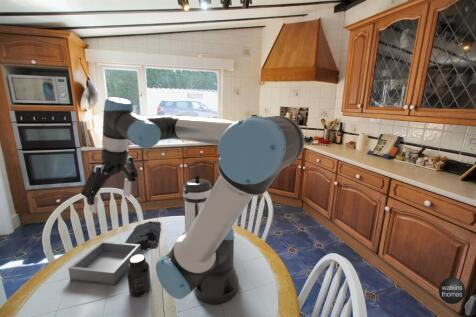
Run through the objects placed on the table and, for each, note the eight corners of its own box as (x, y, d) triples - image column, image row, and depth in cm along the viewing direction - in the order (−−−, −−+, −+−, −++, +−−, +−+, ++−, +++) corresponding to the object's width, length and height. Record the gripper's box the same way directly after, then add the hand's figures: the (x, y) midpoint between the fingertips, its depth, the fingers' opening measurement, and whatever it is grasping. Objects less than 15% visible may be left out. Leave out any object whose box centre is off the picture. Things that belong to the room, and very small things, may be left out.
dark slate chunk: (166, 225, 122) (165, 216, 121) (156, 250, 101) (155, 240, 100) (135, 226, 121) (134, 218, 120) (119, 252, 99) (118, 242, 98)
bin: (141, 255, 97) (140, 244, 96) (115, 285, 80) (113, 273, 79) (103, 251, 99) (102, 241, 98) (70, 280, 83) (68, 268, 81)
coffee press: (214, 244, 105) (214, 180, 98) (179, 244, 105) (176, 180, 99) (218, 225, 122) (218, 169, 115) (188, 225, 122) (185, 169, 115)
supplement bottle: (154, 283, 82) (152, 252, 79) (145, 298, 75) (142, 266, 73) (135, 281, 82) (132, 251, 80) (124, 297, 76) (121, 264, 73)
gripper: (136, 136, 87) (131, 185, 94) (66, 151, 65) (67, 214, 72) (152, 144, 85) (145, 193, 92) (86, 162, 62) (84, 225, 70)
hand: (111, 202), depth 82 cm, fingers open, 13 cm apart
